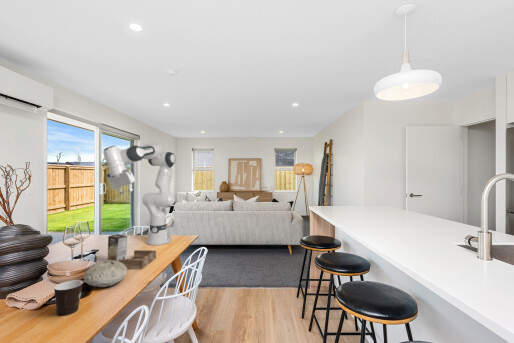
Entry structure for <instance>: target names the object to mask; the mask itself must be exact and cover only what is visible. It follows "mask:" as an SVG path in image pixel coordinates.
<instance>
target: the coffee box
mask: <svg viewBox="0 0 514 343" xmlns="http://www.w3.org/2000/svg"><path fill="white" fill-rule="evenodd" d="M127 252H128V236H127V235H123V234H118V233H115V234H113V235H108V236H107V260H113V261H118V260H119V259H127V254H128V253H127Z"/></svg>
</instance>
